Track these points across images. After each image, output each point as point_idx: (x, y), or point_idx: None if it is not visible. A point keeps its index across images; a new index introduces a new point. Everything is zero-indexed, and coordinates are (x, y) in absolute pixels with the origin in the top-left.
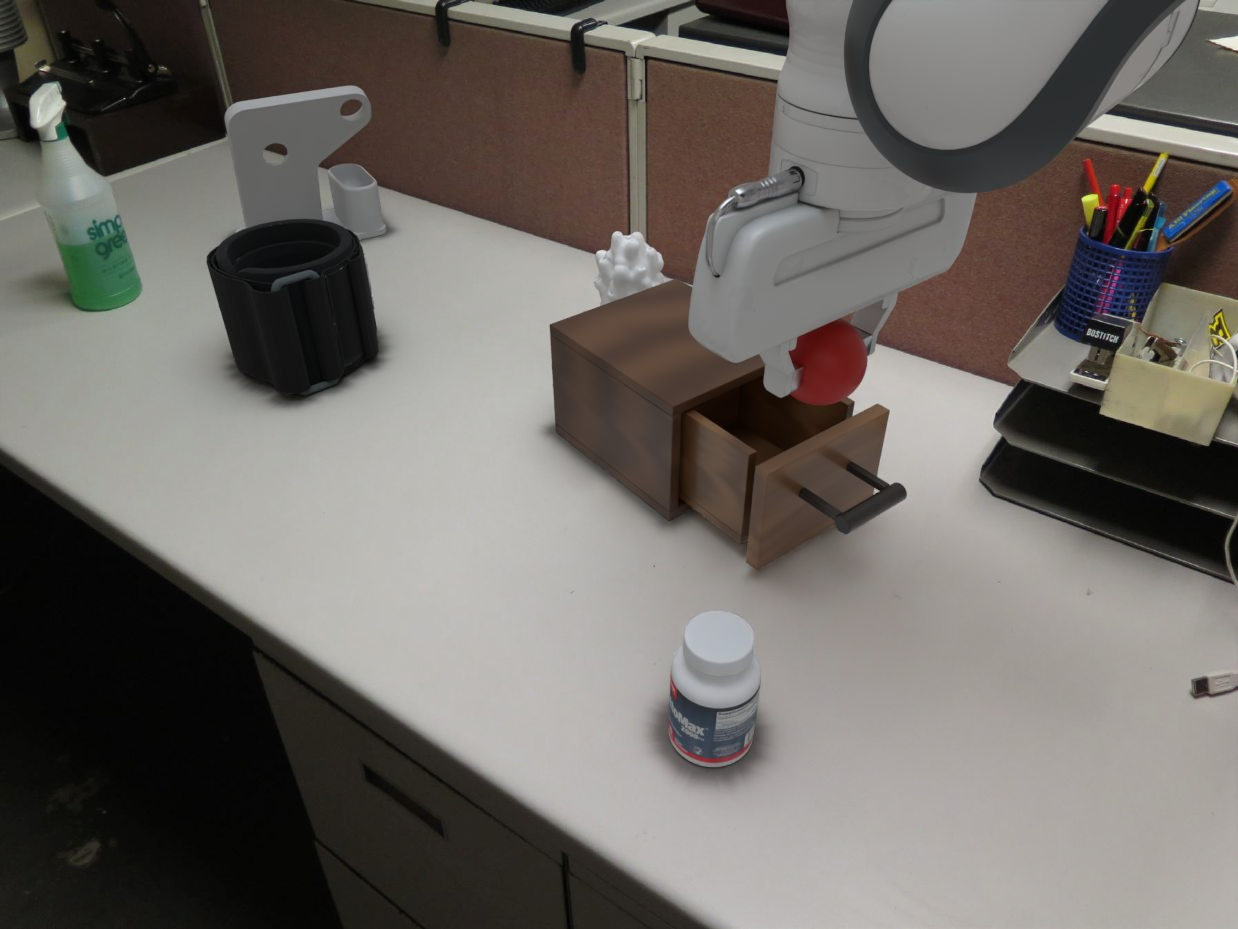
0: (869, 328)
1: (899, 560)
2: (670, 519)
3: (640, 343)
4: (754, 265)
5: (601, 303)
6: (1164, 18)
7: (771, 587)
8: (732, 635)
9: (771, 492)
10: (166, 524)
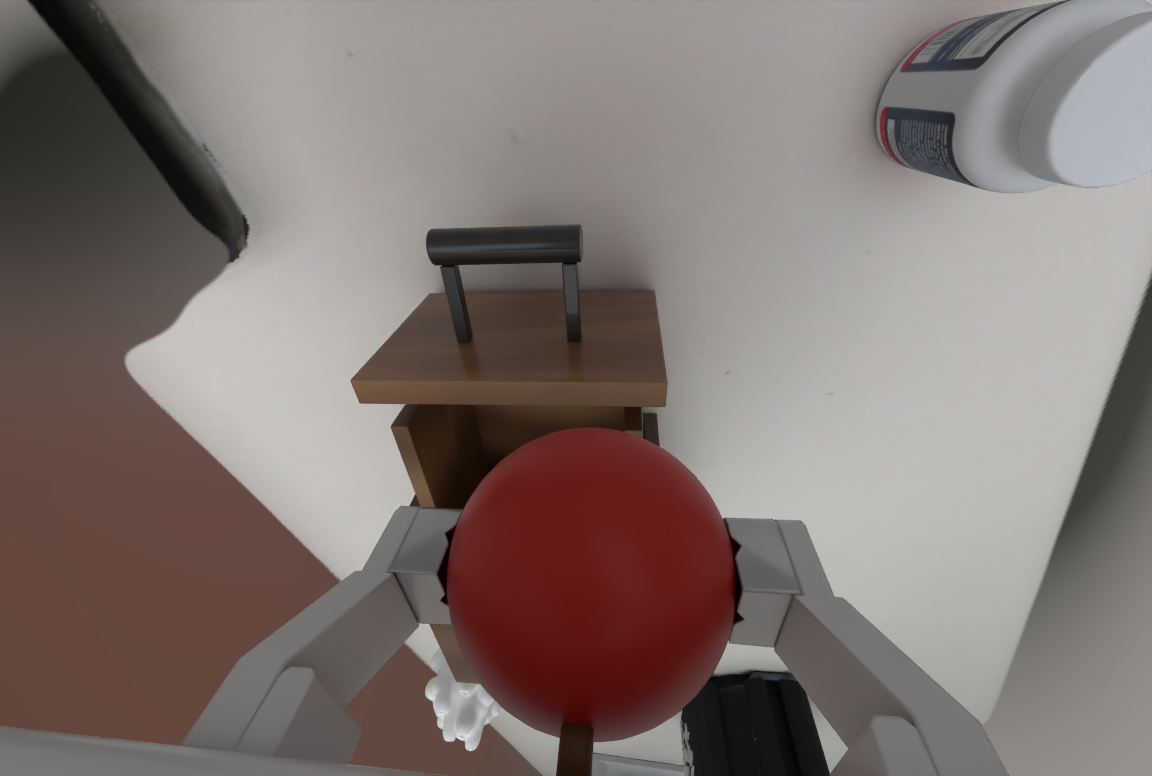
0: (385, 596)
1: (460, 193)
2: (654, 414)
3: None
4: None
5: None
6: None
7: (645, 263)
8: (1126, 87)
9: (649, 357)
10: (996, 630)
